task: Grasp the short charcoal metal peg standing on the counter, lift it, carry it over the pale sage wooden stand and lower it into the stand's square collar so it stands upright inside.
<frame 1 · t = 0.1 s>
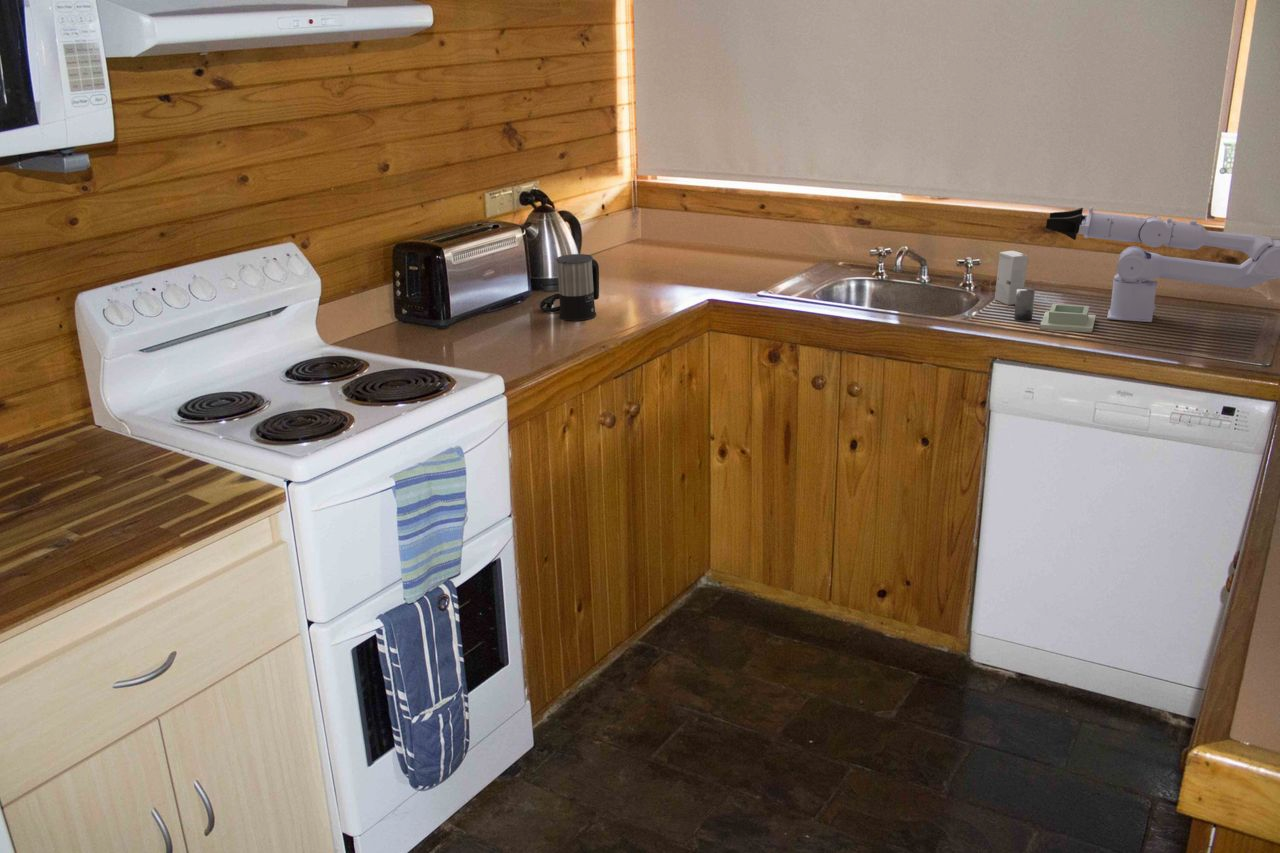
hand: (1048, 220, 262), 22 cm above the counter, tool horizontal, fingers open, 7 cm apart
peg: (1023, 318, 264), on the counter
milk frother: (567, 314, 282), on the counter
socket stand: (1067, 323, 258), on the counter
skincare box: (1009, 302, 278), on the counter
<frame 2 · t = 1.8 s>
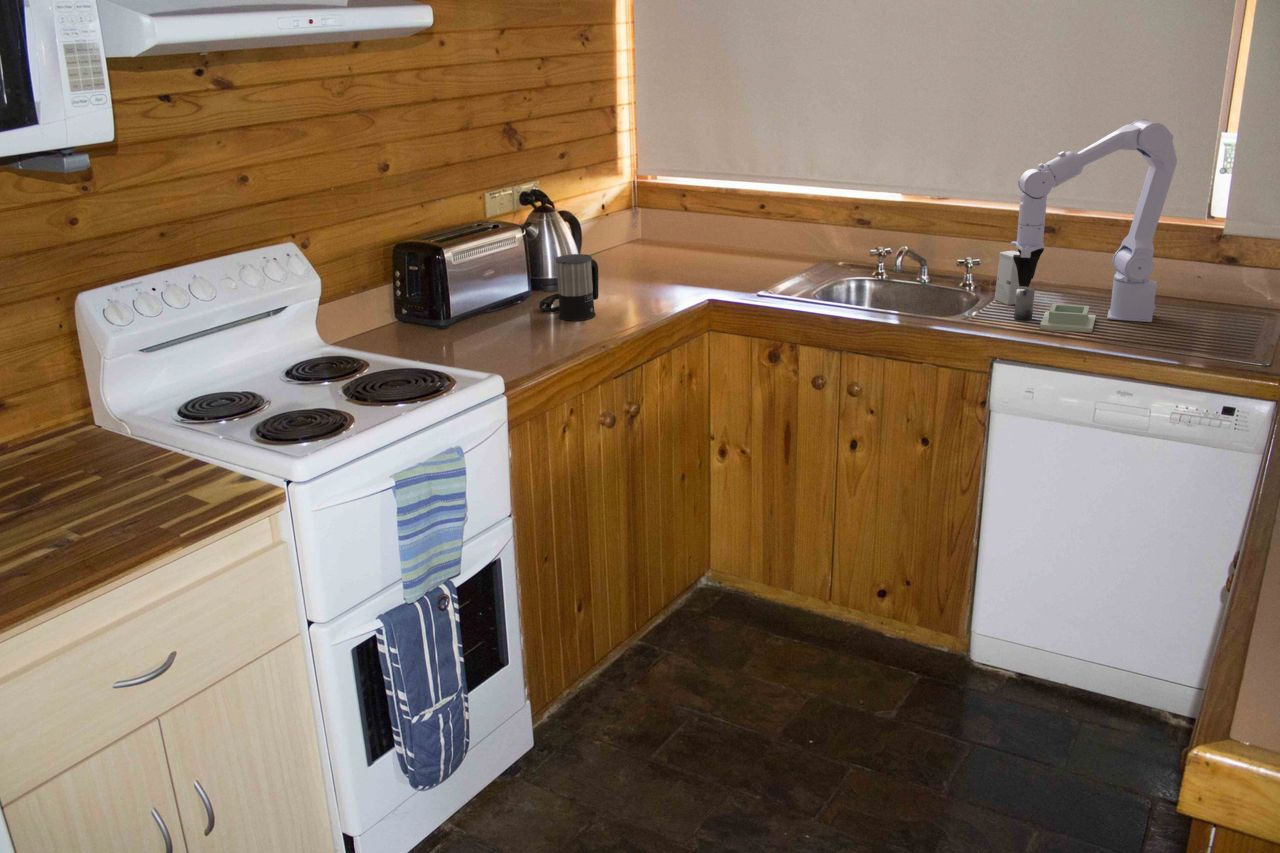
hand: (1026, 282, 261), 9 cm above the counter, tool pointing down, fingers open, 7 cm apart
nothing on the counter moved.
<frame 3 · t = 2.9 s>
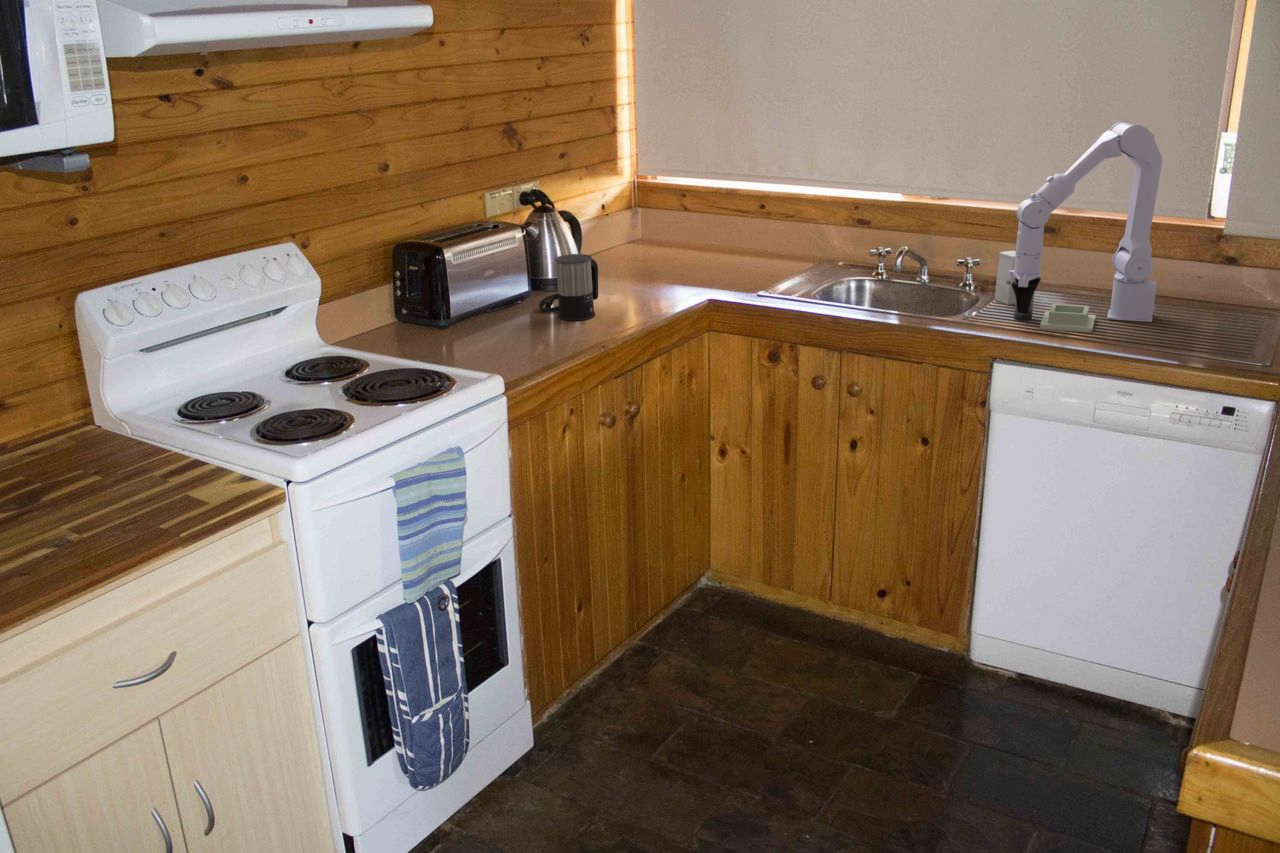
hand: (1023, 310, 263), 2 cm above the counter, tool pointing down, fingers closed on peg, 4 cm apart
peg: (1023, 318, 264), on the counter, touching gripper
everything else where it was.
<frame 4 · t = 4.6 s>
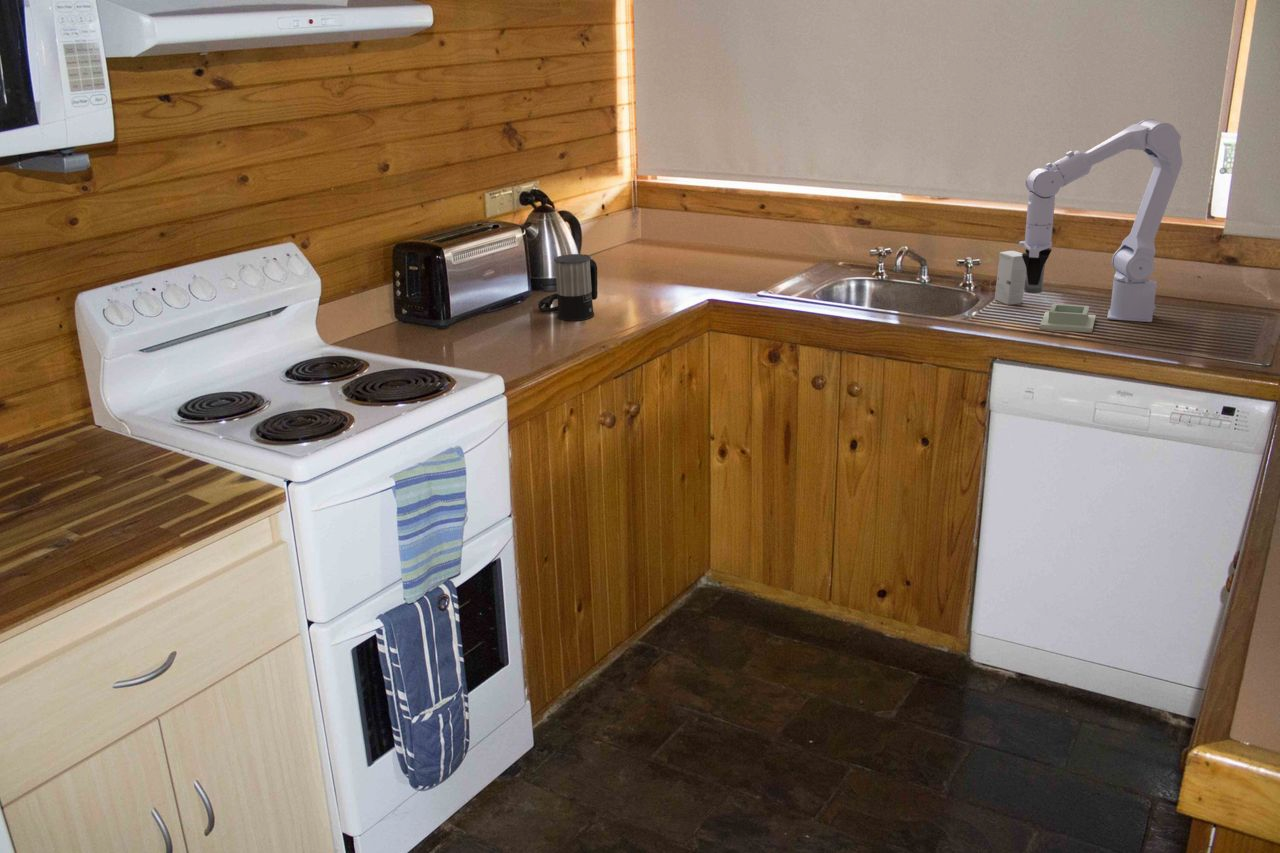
hand: (1034, 282, 260), 9 cm above the counter, tool pointing down, fingers closed on peg, 4 cm apart
peg: (1033, 291, 260), point 7 cm above the counter, touching gripper
everything else where it was.
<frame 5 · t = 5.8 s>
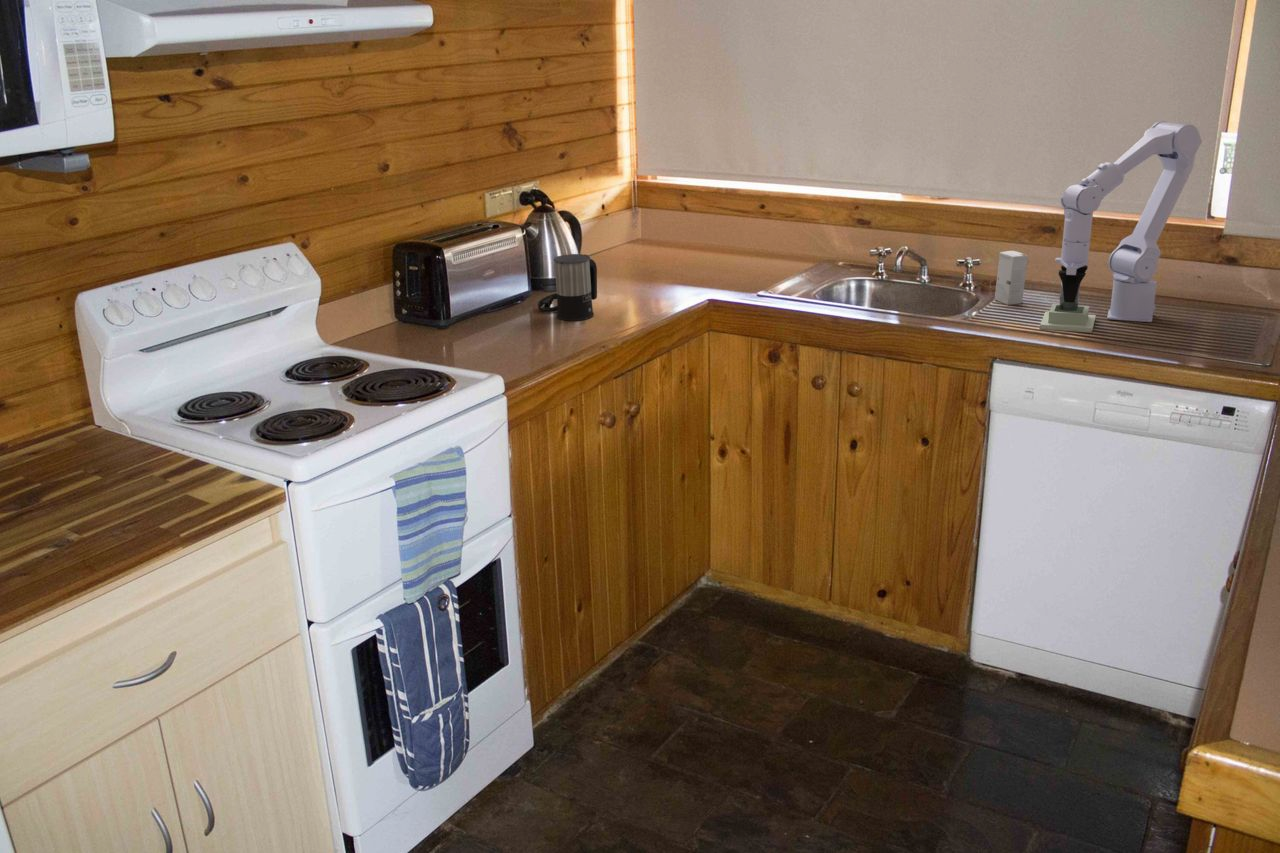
hand: (1070, 299, 256), 6 cm above the counter, tool pointing down, fingers closed on peg, 4 cm apart
peg: (1068, 308, 257), point 4 cm above the counter, touching gripper
everything else where it was.
when the fingers open (4 cm above the counter, at t = 6.5 s): peg stays where it is, resting on socket stand.
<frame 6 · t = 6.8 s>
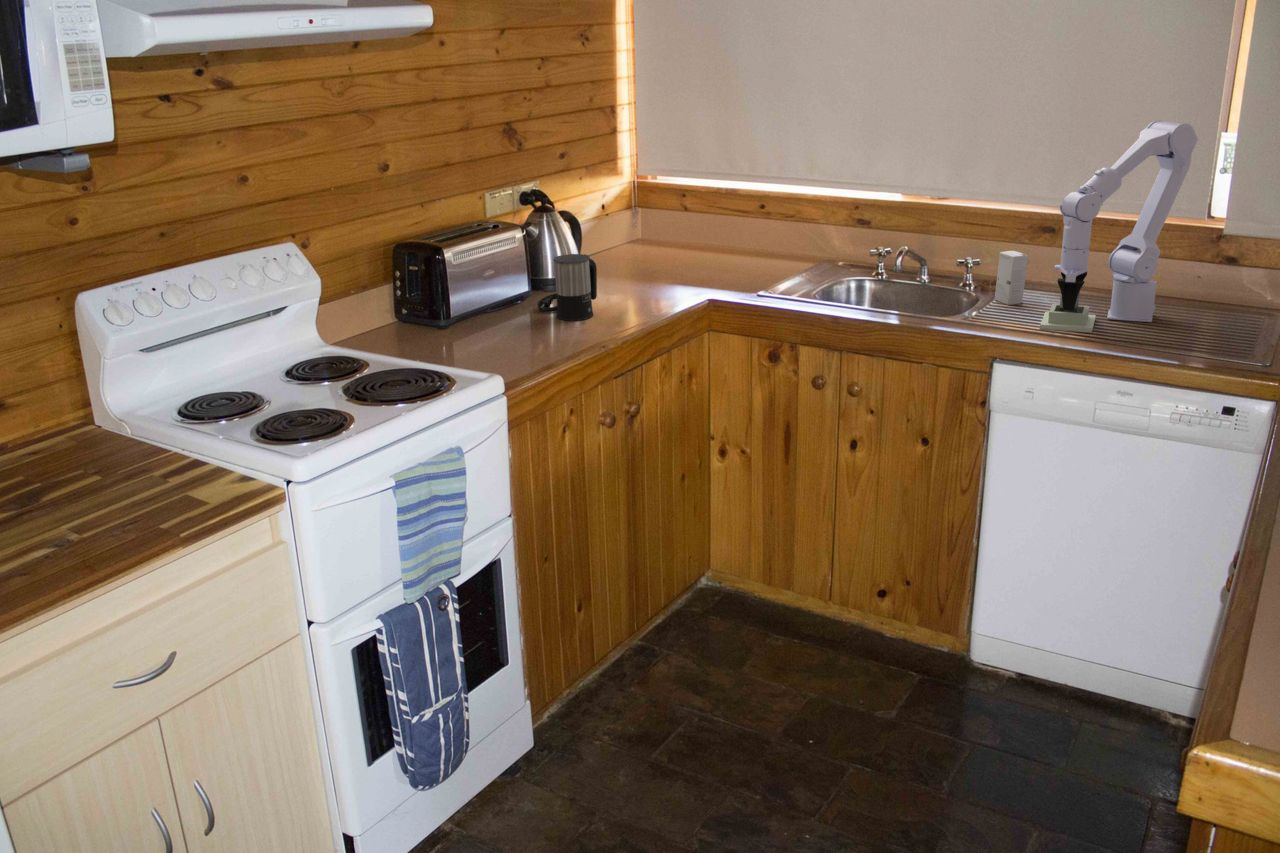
hand: (1069, 306, 257), 4 cm above the counter, tool pointing down, fingers open, 6 cm apart
peg: (1067, 319, 258), point 1 cm above the counter, touching socket stand
everything else where it was.
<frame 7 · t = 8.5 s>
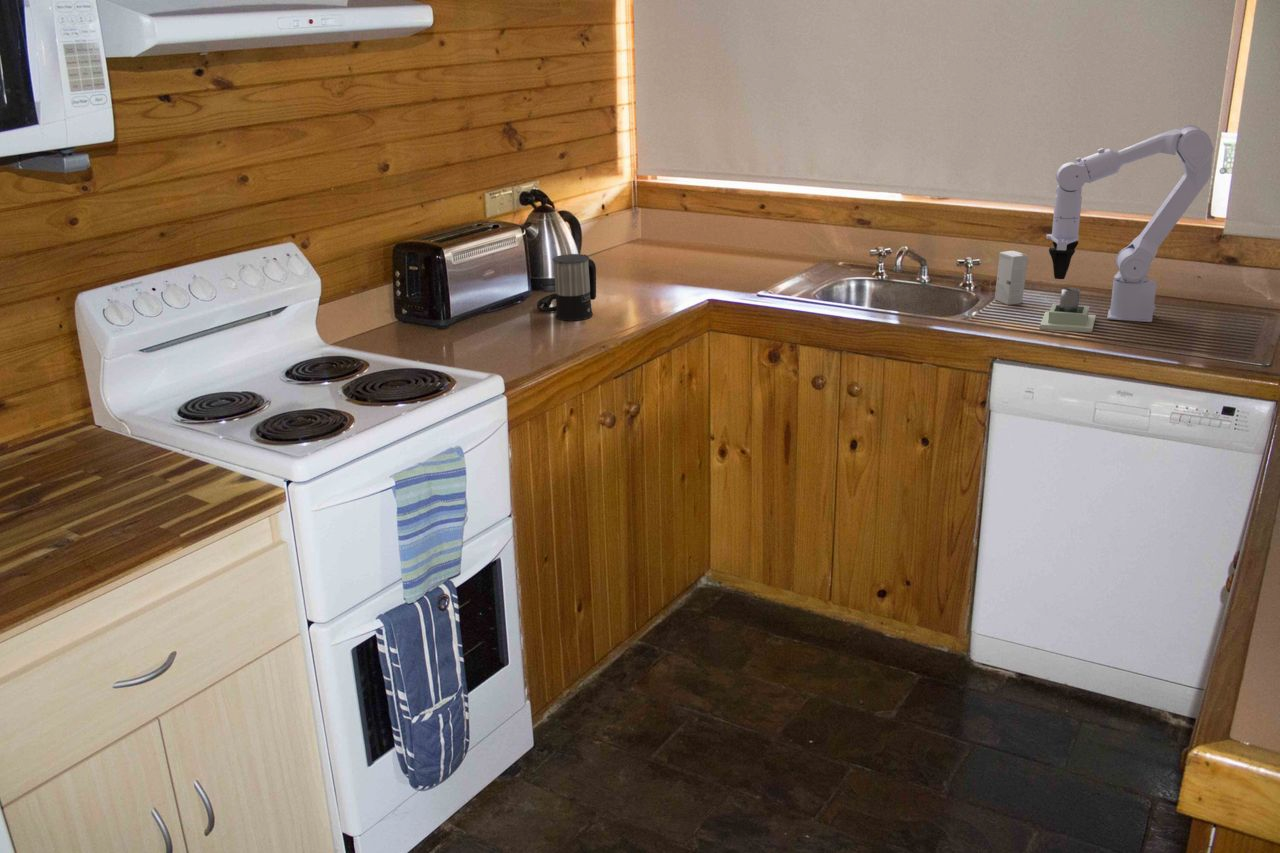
hand: (1061, 275, 263), 9 cm above the counter, tool pointing down, fingers open, 7 cm apart
nothing on the counter moved.
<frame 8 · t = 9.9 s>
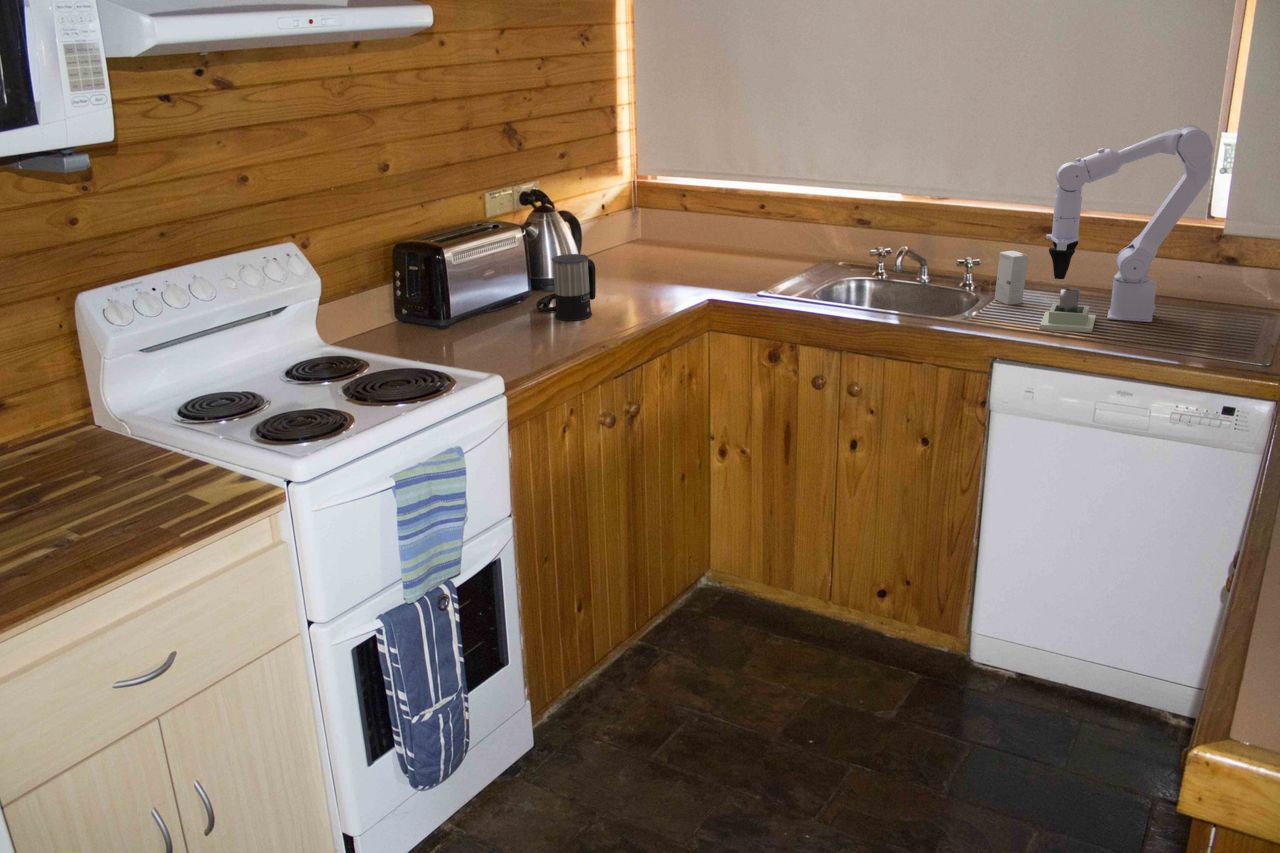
hand: (1061, 275, 263), 9 cm above the counter, tool pointing down, fingers open, 7 cm apart
at the end: peg 0.2 cm off-centre on the socket stand, point 1.0 cm above the socket stand's base; peg tilted 1°; the gripper is holding nothing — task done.
